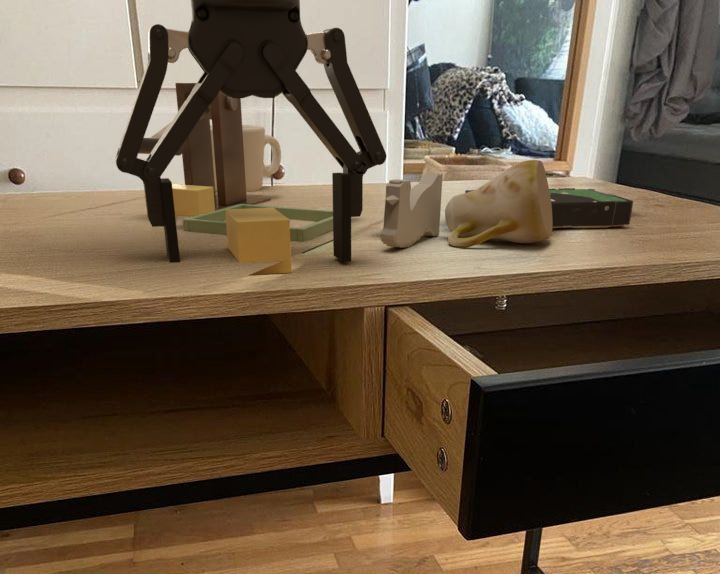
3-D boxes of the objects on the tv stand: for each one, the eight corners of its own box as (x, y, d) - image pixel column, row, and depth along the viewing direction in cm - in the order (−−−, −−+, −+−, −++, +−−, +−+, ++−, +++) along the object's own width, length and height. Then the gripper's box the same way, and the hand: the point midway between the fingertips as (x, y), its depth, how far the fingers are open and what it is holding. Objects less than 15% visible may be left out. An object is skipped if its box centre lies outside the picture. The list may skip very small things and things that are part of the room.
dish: (184, 241, 70) (182, 219, 69) (241, 224, 78) (240, 203, 77) (303, 253, 66) (303, 229, 65) (350, 233, 74) (350, 211, 73)
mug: (444, 232, 76) (502, 138, 72) (522, 287, 74) (587, 193, 70) (420, 224, 69) (483, 120, 65) (506, 284, 67) (576, 180, 63)
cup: (264, 189, 102) (260, 123, 98) (298, 195, 97) (296, 126, 93) (192, 195, 96) (185, 125, 92) (224, 203, 91) (219, 129, 87)
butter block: (150, 222, 79) (146, 186, 77) (168, 218, 81) (164, 183, 80) (200, 227, 77) (197, 190, 75) (216, 222, 79) (213, 186, 78)
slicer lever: (178, 163, 72) (171, 137, 70) (126, 160, 74) (117, 135, 72) (243, 110, 80) (238, 85, 78) (194, 108, 82) (188, 84, 80)
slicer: (225, 223, 79) (214, 83, 73) (160, 217, 82) (145, 82, 76) (271, 209, 87) (265, 82, 81) (211, 204, 90) (201, 82, 84)
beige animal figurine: (438, 236, 74) (391, 253, 66) (425, 234, 74) (377, 251, 67) (442, 172, 71) (394, 182, 63) (429, 171, 72) (379, 181, 64)
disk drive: (492, 233, 75) (631, 227, 78) (495, 203, 74) (636, 198, 76) (461, 216, 84) (587, 211, 87) (463, 189, 83) (590, 185, 85)
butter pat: (291, 272, 60) (289, 219, 58) (240, 275, 58) (237, 221, 57) (275, 257, 65) (273, 207, 63) (228, 259, 63) (224, 209, 62)
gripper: (397, -41, 58) (391, 246, 68) (48, -57, 51) (98, 264, 61) (435, -56, 52) (422, 263, 61) (42, -76, 45) (99, 285, 55)
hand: (261, 264), depth 61 cm, fingers open, 13 cm apart
